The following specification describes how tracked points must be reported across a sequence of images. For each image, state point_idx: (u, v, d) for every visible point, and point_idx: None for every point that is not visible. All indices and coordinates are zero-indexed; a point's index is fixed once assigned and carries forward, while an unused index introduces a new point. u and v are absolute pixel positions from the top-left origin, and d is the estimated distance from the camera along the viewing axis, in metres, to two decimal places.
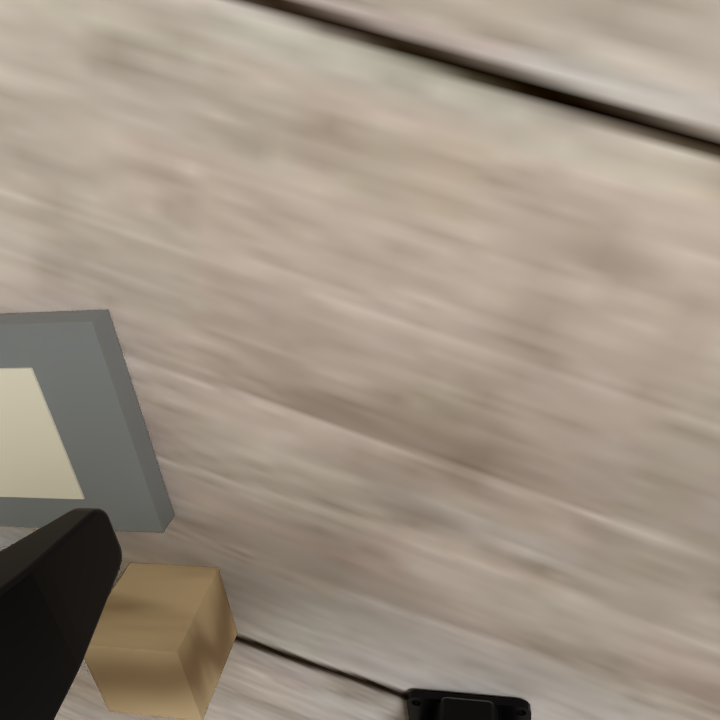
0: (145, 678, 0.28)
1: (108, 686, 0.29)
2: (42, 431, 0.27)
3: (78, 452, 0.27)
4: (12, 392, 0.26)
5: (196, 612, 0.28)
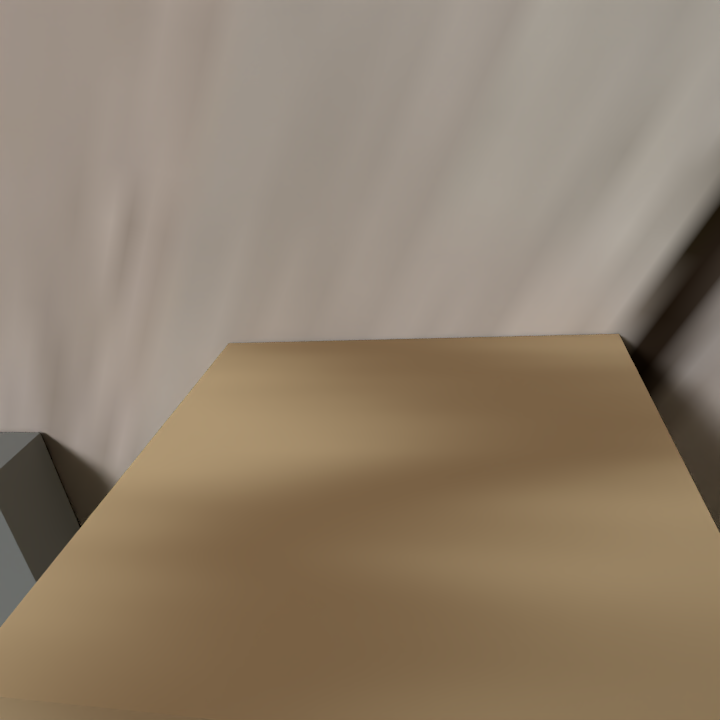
0: None
1: None
2: None
3: None
4: None
5: (125, 476, 0.06)
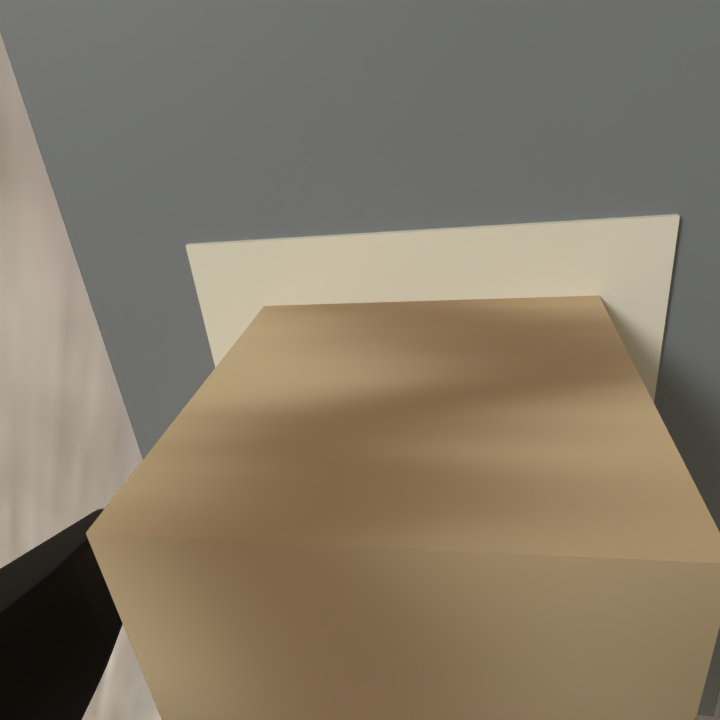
0: (351, 715, 0.06)
1: None
2: (399, 280, 0.09)
3: (472, 181, 0.08)
4: None
5: (192, 400, 0.07)
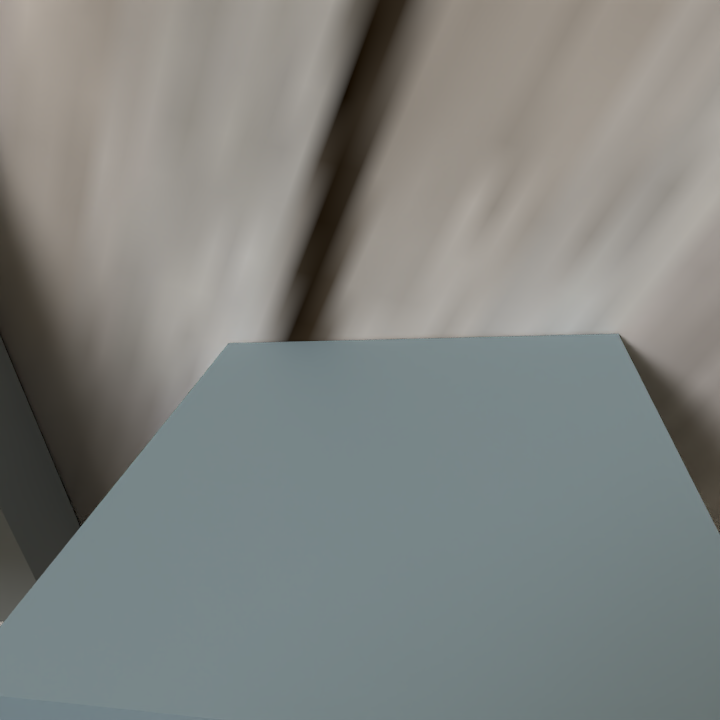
0: None
1: None
2: None
3: None
4: None
5: None
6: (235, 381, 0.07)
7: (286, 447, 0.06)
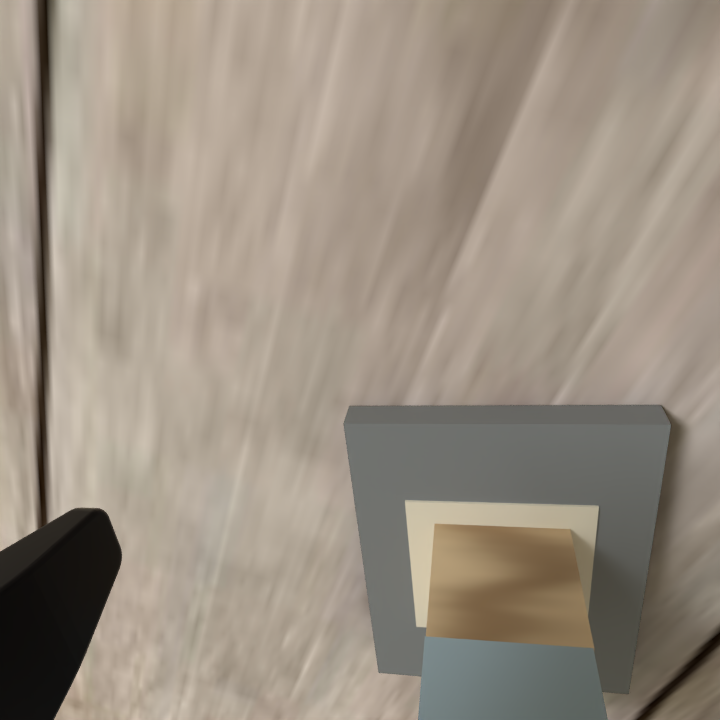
0: None
1: None
2: (491, 518, 0.23)
3: (522, 490, 0.22)
4: None
5: (431, 581, 0.20)
6: (438, 669, 0.18)
7: (473, 715, 0.16)
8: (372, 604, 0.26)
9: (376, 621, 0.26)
